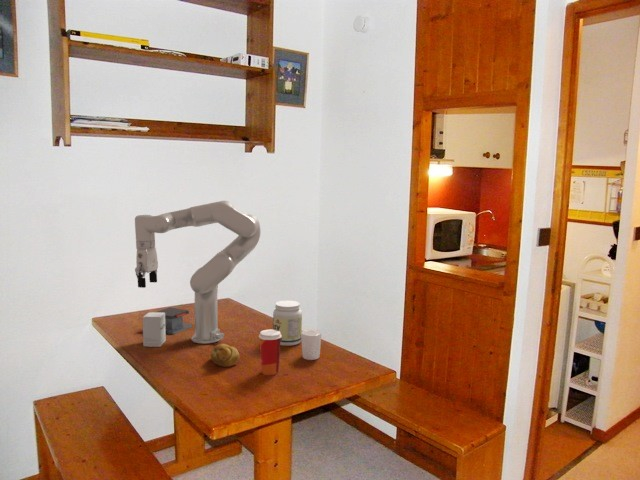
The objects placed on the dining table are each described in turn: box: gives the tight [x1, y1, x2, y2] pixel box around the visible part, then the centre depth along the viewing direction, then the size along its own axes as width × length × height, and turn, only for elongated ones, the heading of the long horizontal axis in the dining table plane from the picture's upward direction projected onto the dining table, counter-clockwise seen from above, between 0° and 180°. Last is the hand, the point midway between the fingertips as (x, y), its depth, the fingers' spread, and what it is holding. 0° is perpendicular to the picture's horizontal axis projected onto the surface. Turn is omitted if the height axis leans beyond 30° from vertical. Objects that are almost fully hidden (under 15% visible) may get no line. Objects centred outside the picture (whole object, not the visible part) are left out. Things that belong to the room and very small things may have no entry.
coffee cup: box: [258, 328, 282, 376], centre depth 189 cm, size 8×8×15 cm
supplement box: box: [142, 311, 167, 348], centre depth 217 cm, size 7×7×13 cm
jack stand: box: [156, 306, 193, 336], centre depth 238 cm, size 13×13×8 cm
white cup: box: [301, 329, 322, 361], centre depth 205 cm, size 8×8×10 cm
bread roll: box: [209, 343, 240, 368], centre depth 198 cm, size 13×10×8 cm
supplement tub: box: [272, 300, 303, 347], centre depth 222 cm, size 12×12×17 cm
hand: (147, 284), depth 220 cm, fingers open, 9 cm apart
